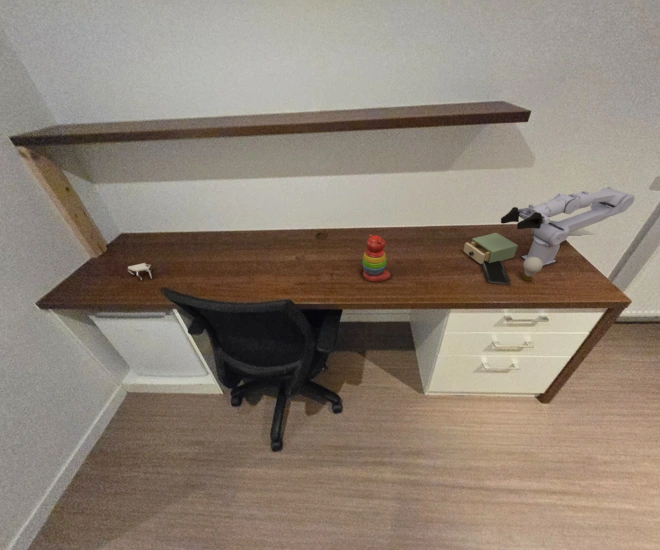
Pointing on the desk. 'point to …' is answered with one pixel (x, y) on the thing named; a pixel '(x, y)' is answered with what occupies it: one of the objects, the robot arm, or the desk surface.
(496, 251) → the cabinet
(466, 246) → the drawer
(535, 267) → the light bulb
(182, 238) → the desk surface
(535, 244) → the robot arm
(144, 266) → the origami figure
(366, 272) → the stacking bear
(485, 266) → the phone
